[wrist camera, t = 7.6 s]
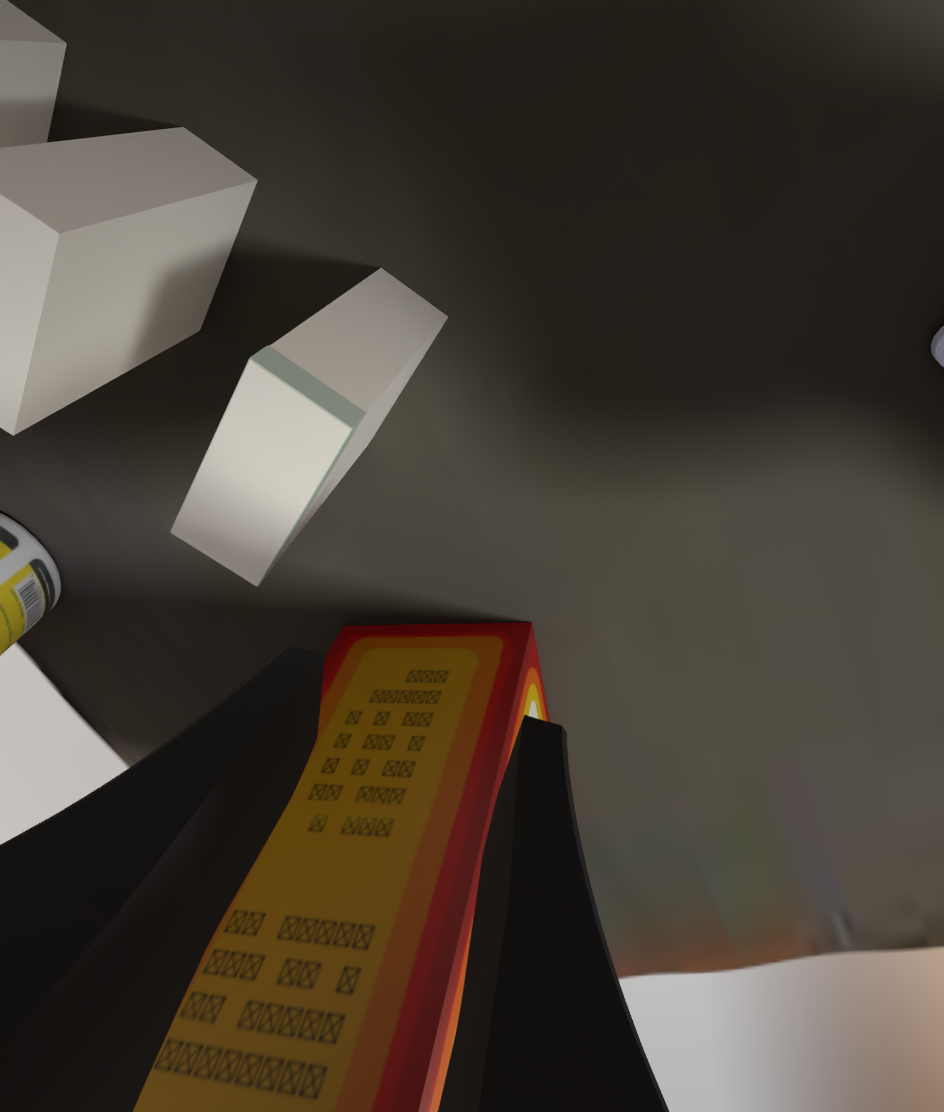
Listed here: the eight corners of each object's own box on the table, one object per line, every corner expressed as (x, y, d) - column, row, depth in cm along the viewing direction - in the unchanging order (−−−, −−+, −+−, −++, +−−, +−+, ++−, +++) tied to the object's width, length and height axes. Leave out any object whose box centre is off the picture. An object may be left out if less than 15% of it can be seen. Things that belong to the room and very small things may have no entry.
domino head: (449, 316, 18) (352, 429, 12) (368, 444, 21) (256, 587, 15) (380, 266, 18) (248, 358, 12) (307, 403, 20) (169, 532, 15)
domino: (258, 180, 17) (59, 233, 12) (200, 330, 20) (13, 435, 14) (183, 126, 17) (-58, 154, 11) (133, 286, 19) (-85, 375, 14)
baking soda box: (567, 818, 28) (485, 1481, 15) (407, 809, 29) (208, 1391, 16) (532, 622, 23) (362, 1352, 10) (343, 625, 25) (-11, 1245, 12)
